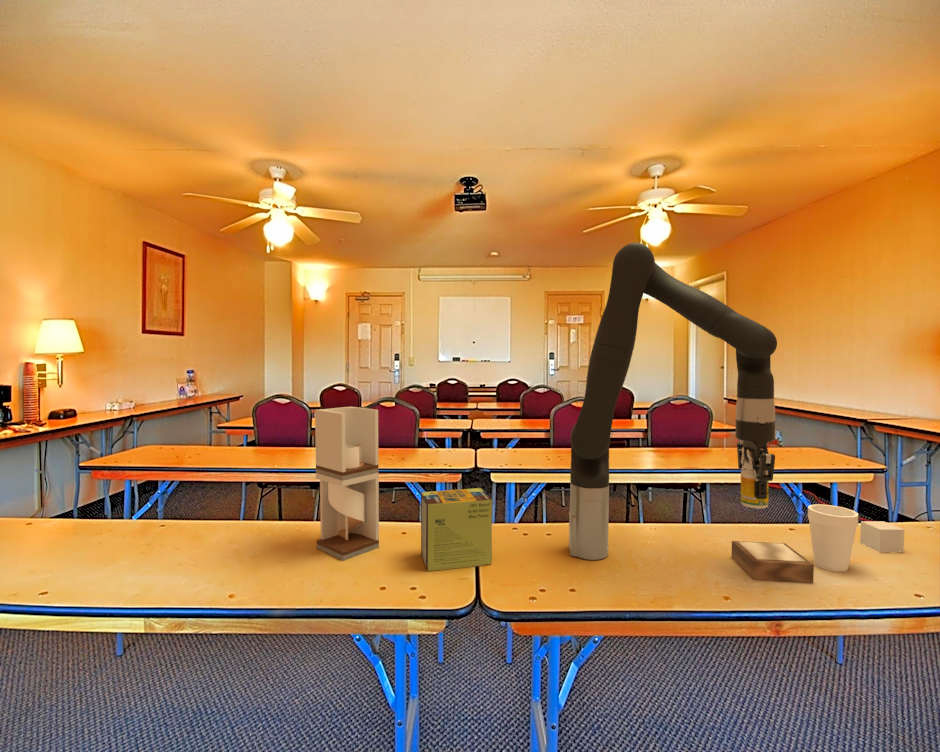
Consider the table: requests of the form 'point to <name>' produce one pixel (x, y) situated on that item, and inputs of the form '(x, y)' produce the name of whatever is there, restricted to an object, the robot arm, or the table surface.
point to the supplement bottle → (751, 489)
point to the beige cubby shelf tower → (348, 480)
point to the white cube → (882, 536)
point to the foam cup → (832, 535)
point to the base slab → (772, 562)
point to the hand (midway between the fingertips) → (754, 494)
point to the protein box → (456, 529)
